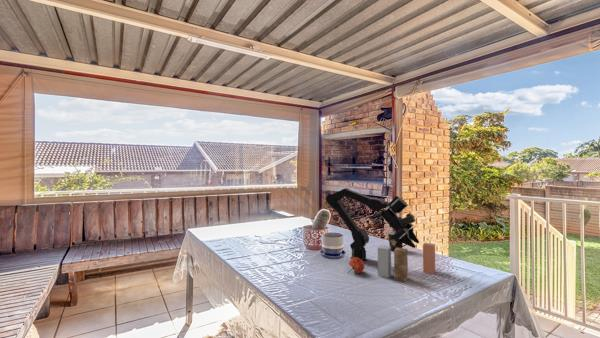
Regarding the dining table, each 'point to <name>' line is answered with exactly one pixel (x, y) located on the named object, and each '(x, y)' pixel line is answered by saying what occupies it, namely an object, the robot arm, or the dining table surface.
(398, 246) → the coffee mug
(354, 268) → the pomegranate
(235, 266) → the dining table surface
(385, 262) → the slate block
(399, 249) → the walnut block
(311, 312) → the dining table surface
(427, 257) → the rust block
